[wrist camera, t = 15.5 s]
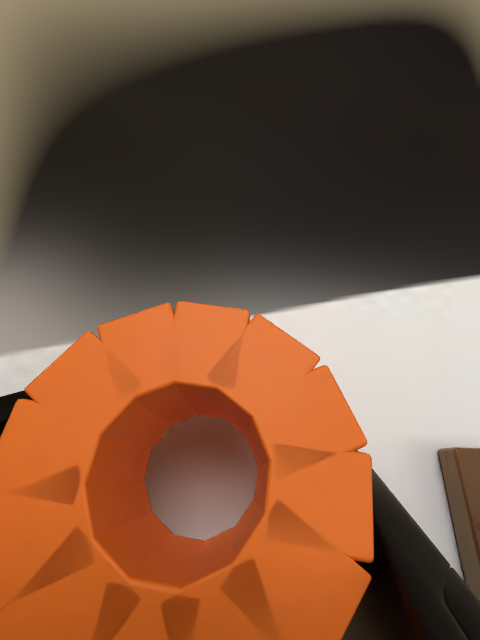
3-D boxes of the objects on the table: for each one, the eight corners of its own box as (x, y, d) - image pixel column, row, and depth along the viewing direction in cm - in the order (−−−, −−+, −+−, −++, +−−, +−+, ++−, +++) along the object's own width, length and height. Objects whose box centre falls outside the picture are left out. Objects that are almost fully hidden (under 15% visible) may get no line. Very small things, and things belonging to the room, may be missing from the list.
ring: (368, 554, 9) (461, 614, 5) (106, 689, 7) (-19, 891, 4) (263, 331, 11) (275, 264, 8) (63, 404, 10) (-34, 367, 7)
